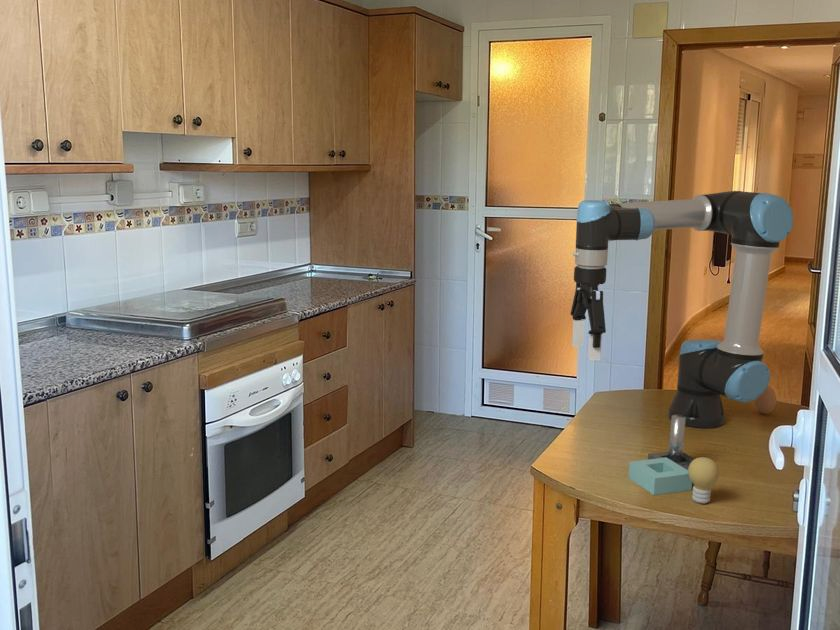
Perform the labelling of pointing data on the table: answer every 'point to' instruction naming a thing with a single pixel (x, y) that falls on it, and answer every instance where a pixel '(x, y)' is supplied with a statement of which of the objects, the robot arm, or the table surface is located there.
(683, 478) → the socket
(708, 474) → the light bulb
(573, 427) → the table surface
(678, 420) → the pin
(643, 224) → the robot arm
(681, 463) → the mount
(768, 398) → the egg
